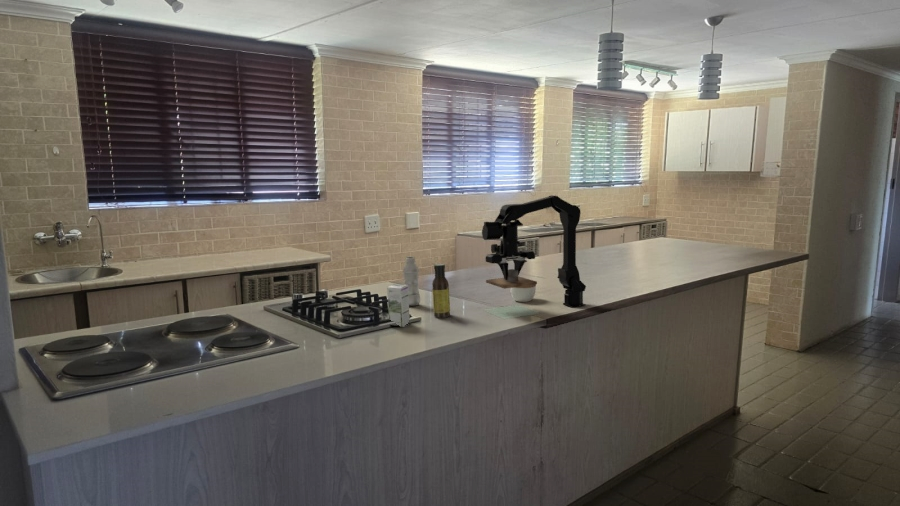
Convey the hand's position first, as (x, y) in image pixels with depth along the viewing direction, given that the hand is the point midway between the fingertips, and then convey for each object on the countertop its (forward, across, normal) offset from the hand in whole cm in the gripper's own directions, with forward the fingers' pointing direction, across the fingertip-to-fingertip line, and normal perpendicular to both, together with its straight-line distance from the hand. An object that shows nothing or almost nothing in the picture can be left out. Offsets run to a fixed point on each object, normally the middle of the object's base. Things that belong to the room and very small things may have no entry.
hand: (511, 279), depth 219 cm
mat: (+13, 0, 0) cm, 13 cm away
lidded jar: (+13, -14, -14) cm, 23 cm away
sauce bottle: (+13, +25, -9) cm, 30 cm away
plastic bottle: (+13, +28, -32) cm, 44 cm away
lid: (+2, 0, 0) cm, 2 cm away
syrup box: (+13, +43, -6) cm, 46 cm away
